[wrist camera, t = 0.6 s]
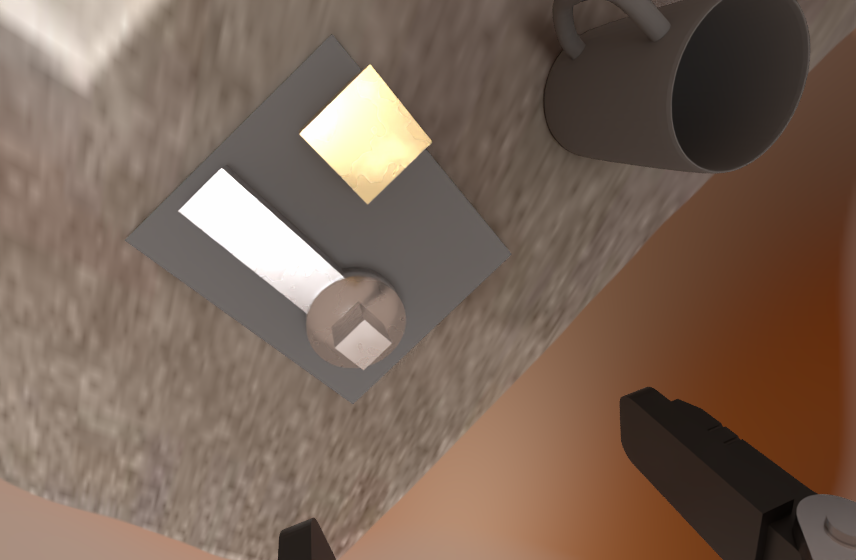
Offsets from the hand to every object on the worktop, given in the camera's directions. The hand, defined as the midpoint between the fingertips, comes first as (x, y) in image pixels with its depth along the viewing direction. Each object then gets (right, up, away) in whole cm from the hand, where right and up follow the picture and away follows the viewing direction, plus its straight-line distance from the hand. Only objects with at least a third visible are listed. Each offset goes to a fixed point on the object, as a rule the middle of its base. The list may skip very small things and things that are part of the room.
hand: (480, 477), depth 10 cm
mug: (+9, +20, +21) cm, 31 cm away
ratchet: (-10, +6, +20) cm, 23 cm away
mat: (-8, +7, +20) cm, 23 cm away
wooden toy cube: (-6, +15, +17) cm, 24 cm away
